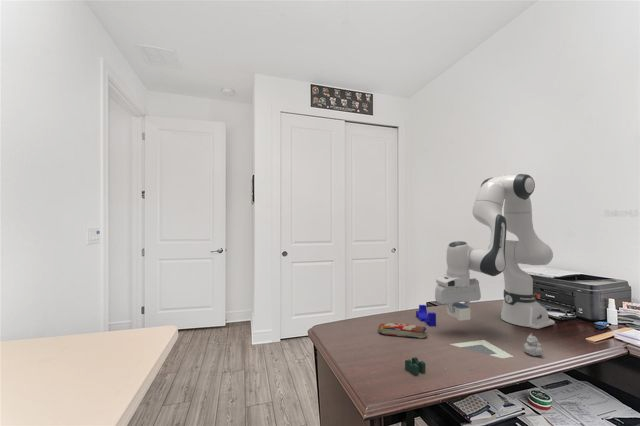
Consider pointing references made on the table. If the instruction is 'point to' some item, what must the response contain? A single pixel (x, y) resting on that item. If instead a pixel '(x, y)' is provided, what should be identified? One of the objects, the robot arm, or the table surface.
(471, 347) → the mat
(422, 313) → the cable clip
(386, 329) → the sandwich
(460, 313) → the card deck
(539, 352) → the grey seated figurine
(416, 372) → the mount
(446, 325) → the table surface
